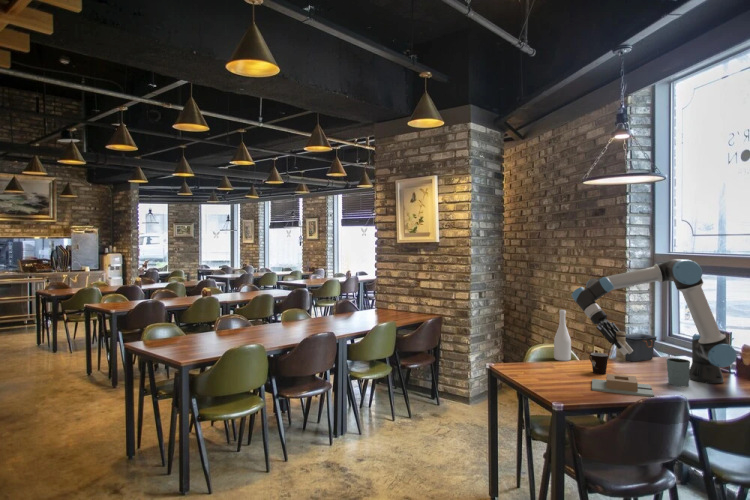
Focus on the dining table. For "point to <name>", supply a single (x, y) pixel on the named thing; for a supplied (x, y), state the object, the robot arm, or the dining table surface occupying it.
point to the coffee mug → (599, 362)
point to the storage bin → (640, 346)
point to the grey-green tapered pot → (678, 371)
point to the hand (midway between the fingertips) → (628, 353)
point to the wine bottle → (562, 340)
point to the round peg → (621, 337)
